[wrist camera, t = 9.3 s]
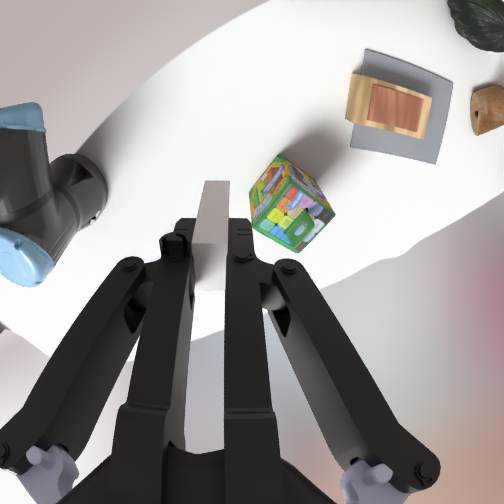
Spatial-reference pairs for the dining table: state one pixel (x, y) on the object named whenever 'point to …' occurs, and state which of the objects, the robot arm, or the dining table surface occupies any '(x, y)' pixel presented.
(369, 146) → the mat
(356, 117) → the oak slab
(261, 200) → the chalk box
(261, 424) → the robot arm
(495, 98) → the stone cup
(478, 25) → the squash
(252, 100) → the dining table surface
